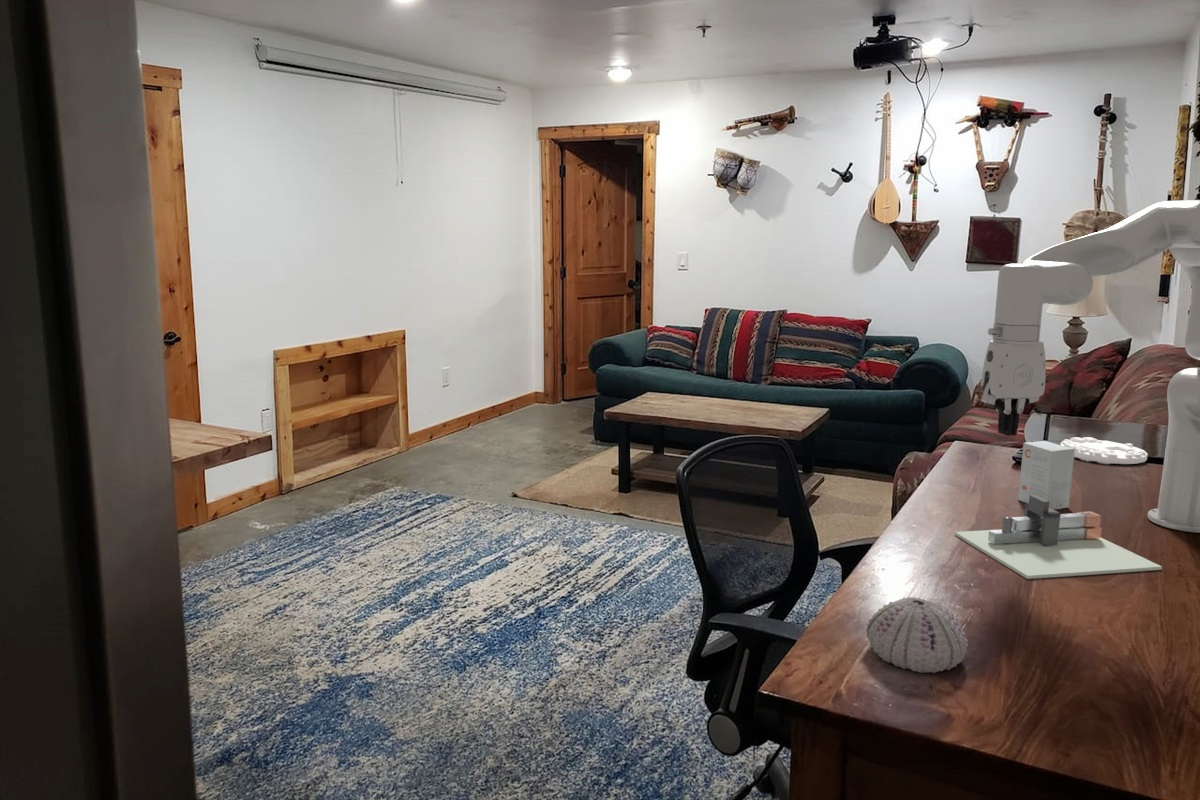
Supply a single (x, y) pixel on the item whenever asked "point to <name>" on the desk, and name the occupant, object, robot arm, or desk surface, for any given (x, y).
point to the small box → (1046, 473)
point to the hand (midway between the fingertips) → (1007, 433)
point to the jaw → (1065, 521)
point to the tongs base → (1039, 533)
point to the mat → (1060, 556)
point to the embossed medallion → (1105, 451)
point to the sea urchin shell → (917, 635)
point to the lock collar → (1044, 519)
